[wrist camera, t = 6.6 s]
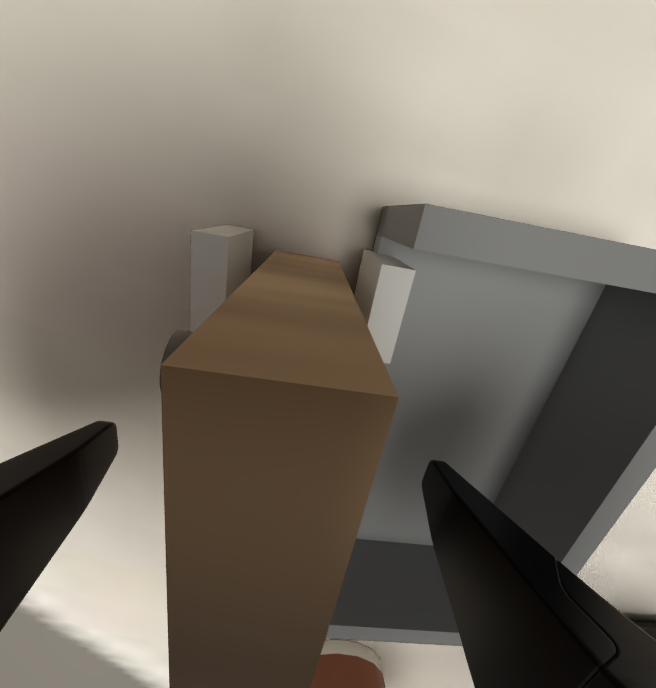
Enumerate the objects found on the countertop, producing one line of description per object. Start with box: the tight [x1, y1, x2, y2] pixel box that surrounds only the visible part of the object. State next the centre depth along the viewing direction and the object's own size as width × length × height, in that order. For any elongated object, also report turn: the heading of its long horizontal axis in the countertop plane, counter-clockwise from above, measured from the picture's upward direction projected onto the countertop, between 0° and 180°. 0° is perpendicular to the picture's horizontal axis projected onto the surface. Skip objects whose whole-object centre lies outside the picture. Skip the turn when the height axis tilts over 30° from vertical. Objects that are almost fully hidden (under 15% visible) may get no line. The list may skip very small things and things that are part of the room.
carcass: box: [190, 204, 656, 646], centre depth 10 cm, size 14×12×4 cm
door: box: [160, 251, 399, 688], centre depth 8 cm, size 10×3×8 cm, turn 170°
